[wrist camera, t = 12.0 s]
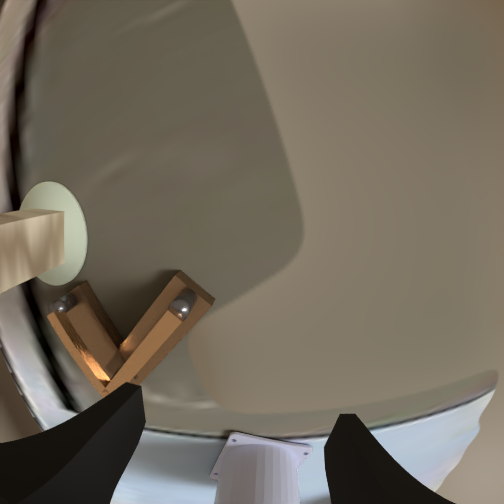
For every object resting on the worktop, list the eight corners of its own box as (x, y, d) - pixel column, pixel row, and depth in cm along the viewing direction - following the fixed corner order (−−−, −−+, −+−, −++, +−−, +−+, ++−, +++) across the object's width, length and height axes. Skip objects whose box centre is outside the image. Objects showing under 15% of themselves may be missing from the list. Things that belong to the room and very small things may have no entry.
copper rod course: (184, 403, 21) (172, 437, 17) (65, 350, 21) (41, 373, 17) (219, 283, 19) (207, 309, 15) (71, 229, 18) (35, 240, 14)
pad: (82, 299, 20) (80, 300, 19) (17, 264, 19) (15, 265, 19) (96, 194, 18) (94, 194, 17) (26, 173, 18) (24, 173, 17)
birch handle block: (64, 262, 19) (-8, 297, 11) (32, 255, 19) (-36, 283, 11) (64, 211, 18) (-16, 228, 10) (31, 208, 18) (-42, 223, 10)
